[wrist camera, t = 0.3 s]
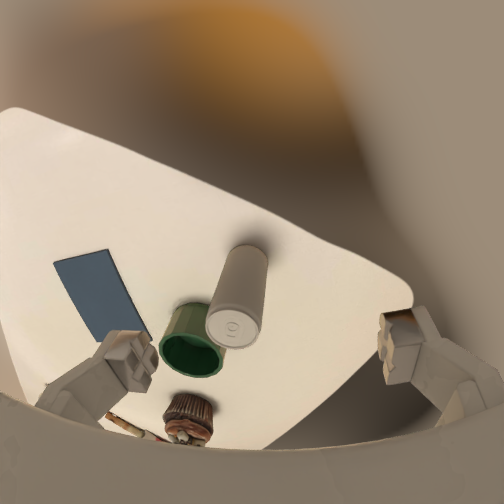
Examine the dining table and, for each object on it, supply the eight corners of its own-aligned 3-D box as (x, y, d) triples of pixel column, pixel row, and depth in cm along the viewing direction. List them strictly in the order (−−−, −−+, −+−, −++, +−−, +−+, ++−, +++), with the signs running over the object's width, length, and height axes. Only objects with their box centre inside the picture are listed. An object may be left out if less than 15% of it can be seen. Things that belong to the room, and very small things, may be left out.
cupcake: (179, 384, 48) (163, 430, 39) (226, 405, 49) (217, 451, 41) (162, 403, 52) (148, 443, 43) (205, 422, 54) (195, 462, 45)
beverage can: (271, 247, 34) (265, 315, 23) (264, 282, 36) (255, 355, 25) (229, 239, 34) (205, 303, 23) (224, 274, 36) (202, 344, 25)
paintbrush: (170, 458, 60) (102, 420, 57) (173, 449, 63) (106, 412, 60) (176, 455, 59) (105, 416, 56) (179, 447, 61) (110, 408, 58)
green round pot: (163, 305, 39) (148, 334, 34) (220, 299, 38) (210, 330, 33) (184, 348, 43) (173, 377, 38) (237, 345, 41) (230, 376, 36)
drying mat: (54, 262, 38) (52, 263, 38) (108, 249, 36) (106, 250, 36) (97, 340, 45) (96, 342, 45) (152, 339, 43) (151, 341, 43)
